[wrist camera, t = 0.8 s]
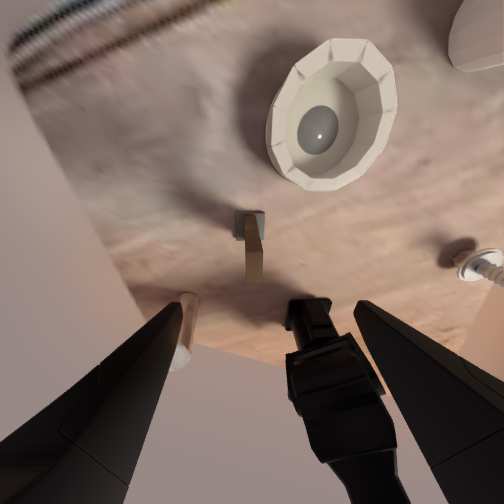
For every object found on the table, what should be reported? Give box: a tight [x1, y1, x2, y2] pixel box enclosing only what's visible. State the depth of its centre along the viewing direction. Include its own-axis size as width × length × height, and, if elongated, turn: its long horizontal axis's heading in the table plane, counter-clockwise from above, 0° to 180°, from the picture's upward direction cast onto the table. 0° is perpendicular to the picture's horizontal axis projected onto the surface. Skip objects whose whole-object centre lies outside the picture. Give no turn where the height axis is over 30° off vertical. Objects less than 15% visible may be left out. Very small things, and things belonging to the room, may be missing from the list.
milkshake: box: [168, 293, 200, 373], centre depth 21 cm, size 4×5×10 cm
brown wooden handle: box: [235, 212, 265, 284], centre depth 17 cm, size 3×3×9 cm
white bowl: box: [265, 38, 398, 191], centre depth 15 cm, size 9×9×4 cm
